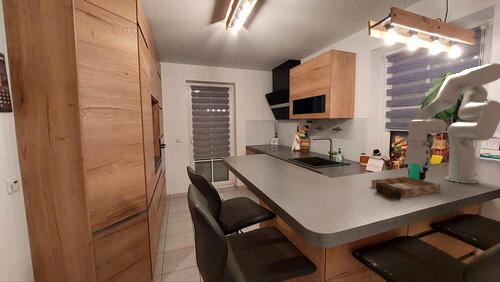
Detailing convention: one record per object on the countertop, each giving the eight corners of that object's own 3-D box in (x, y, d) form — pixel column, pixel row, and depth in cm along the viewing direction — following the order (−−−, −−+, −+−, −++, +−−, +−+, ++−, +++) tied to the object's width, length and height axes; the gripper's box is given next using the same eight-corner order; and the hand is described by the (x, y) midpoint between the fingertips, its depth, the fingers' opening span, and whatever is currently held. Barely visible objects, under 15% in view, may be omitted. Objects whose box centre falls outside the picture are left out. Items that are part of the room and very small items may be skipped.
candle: (426, 184, 106) (427, 161, 106) (415, 185, 107) (415, 161, 106) (417, 181, 112) (418, 159, 112) (406, 182, 113) (406, 160, 112)
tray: (403, 182, 112) (403, 176, 111) (439, 191, 95) (439, 184, 95) (371, 186, 106) (371, 180, 106) (404, 197, 90) (404, 189, 90)
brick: (375, 192, 98) (375, 182, 97) (383, 191, 98) (383, 182, 98) (392, 200, 87) (392, 189, 87) (401, 199, 87) (401, 188, 87)
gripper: (441, 144, 101) (440, 181, 102) (406, 142, 117) (406, 174, 118) (430, 145, 99) (428, 183, 100) (396, 143, 115) (395, 175, 117)
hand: (416, 178), depth 109 cm, fingers closed on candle, 4 cm apart
